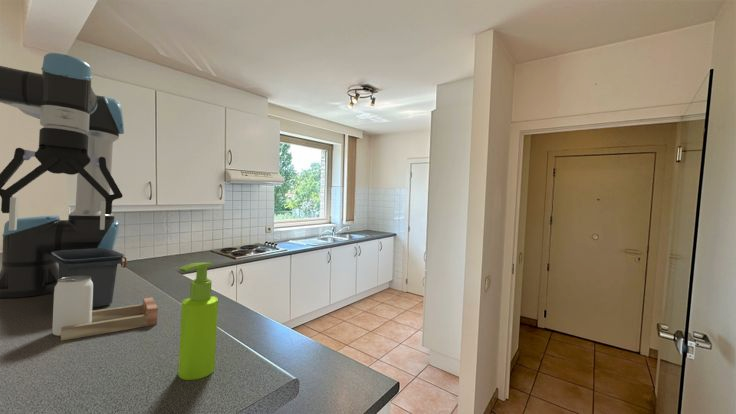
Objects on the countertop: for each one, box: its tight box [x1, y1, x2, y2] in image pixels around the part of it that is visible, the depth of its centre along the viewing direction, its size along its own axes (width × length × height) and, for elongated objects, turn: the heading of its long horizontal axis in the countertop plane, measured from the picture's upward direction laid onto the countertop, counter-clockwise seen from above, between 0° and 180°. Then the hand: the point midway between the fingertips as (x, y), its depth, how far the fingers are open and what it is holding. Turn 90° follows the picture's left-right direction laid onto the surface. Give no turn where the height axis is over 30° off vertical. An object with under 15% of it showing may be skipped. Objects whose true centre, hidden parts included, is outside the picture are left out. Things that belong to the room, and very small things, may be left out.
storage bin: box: [51, 248, 127, 309], centre depth 91 cm, size 21×16×14 cm
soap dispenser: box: [177, 261, 219, 381], centre depth 57 cm, size 6×7×20 cm
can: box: [51, 276, 93, 337], centre depth 71 cm, size 6×6×12 cm
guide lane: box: [60, 296, 159, 342], centre depth 75 cm, size 10×17×4 cm, turn 130°
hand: (60, 229), depth 67 cm, fingers open, 13 cm apart
